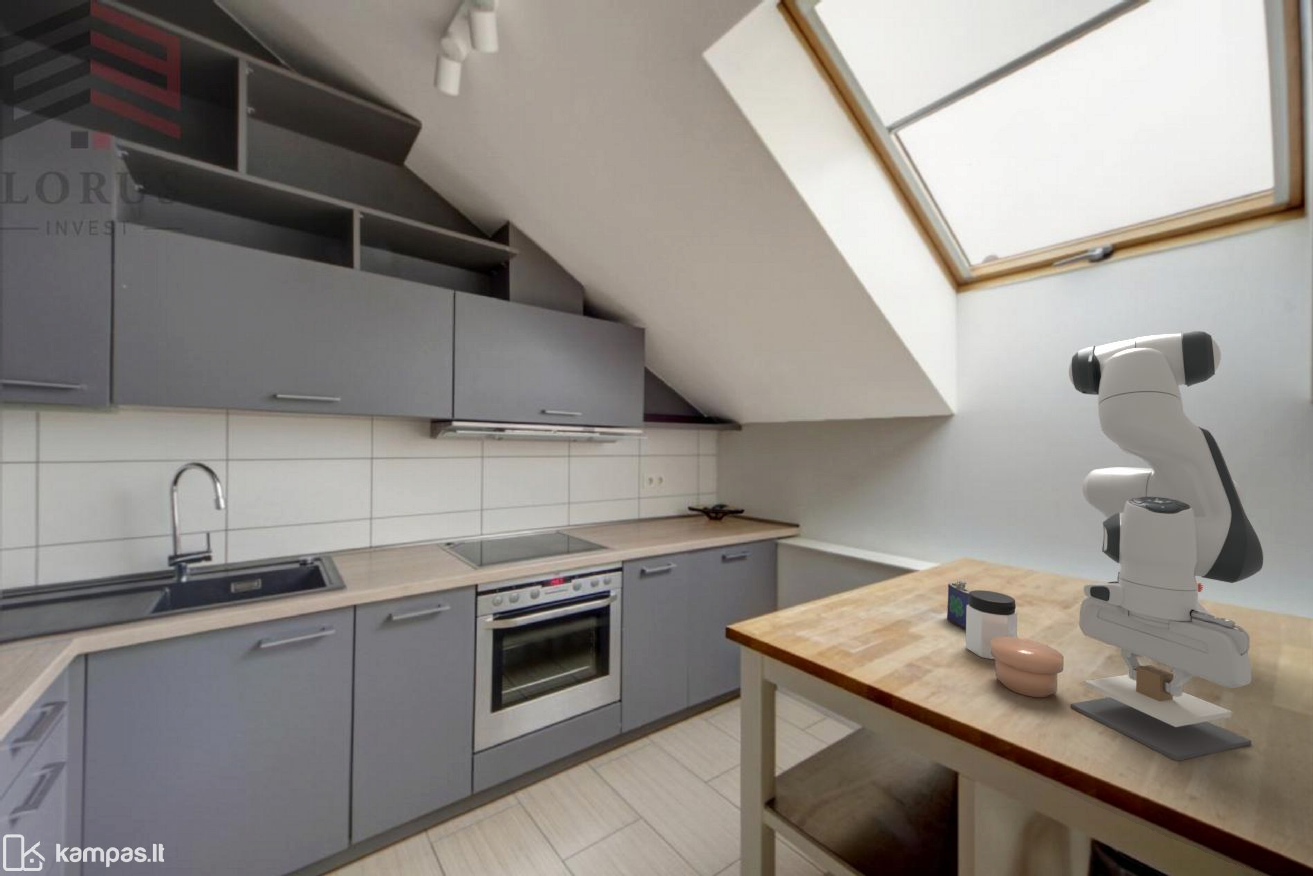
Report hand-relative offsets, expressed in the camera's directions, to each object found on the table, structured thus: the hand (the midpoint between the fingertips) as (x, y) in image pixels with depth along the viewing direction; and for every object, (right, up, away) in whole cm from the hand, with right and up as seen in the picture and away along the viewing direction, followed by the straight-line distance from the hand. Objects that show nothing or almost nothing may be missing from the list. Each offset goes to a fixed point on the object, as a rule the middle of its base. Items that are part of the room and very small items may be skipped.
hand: (1154, 687), depth 78 cm
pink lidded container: (-12, -6, +11) cm, 18 cm away
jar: (-9, -6, +26) cm, 28 cm away
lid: (0, -2, 0) cm, 2 cm away
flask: (-5, -6, +41) cm, 42 cm away
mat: (0, -6, 0) cm, 6 cm away
